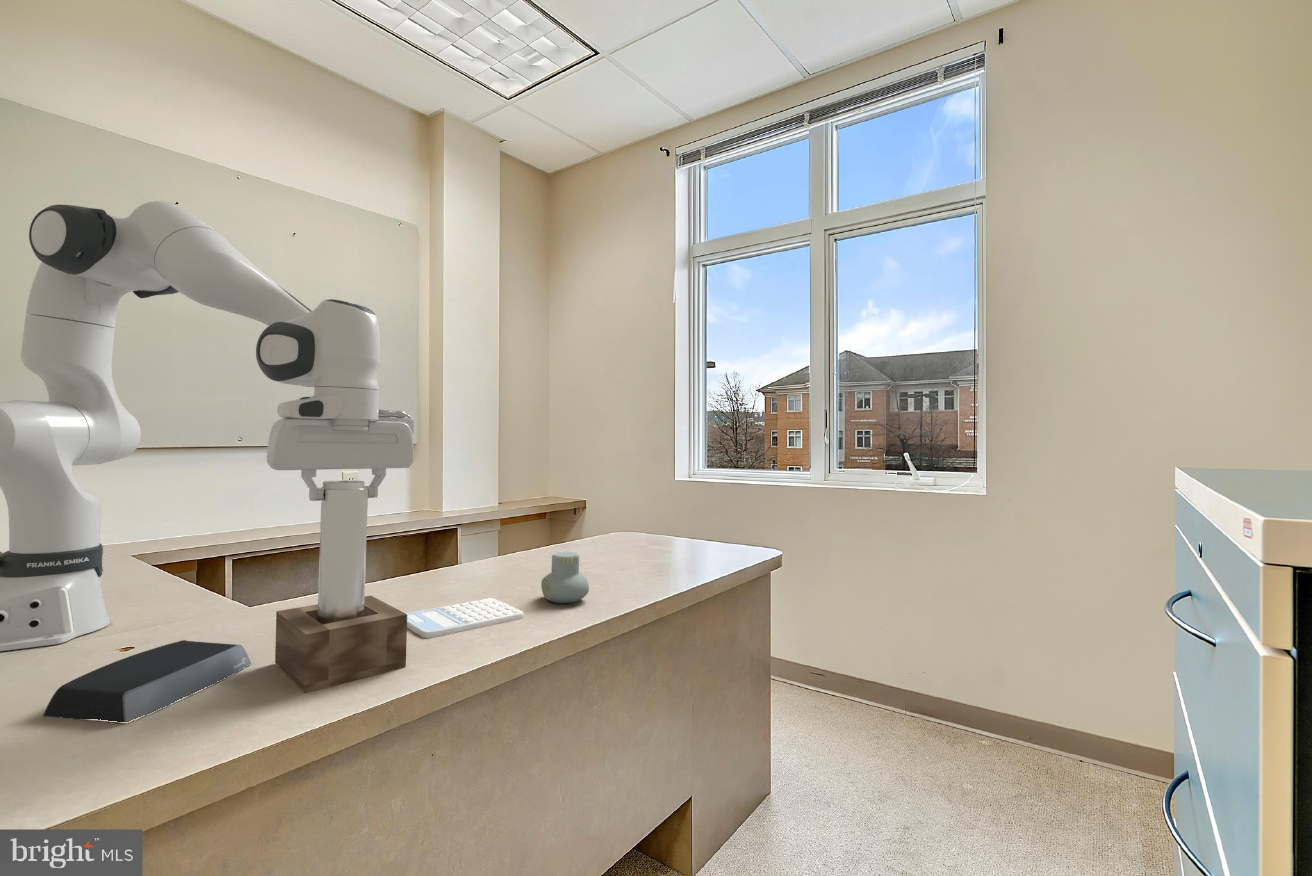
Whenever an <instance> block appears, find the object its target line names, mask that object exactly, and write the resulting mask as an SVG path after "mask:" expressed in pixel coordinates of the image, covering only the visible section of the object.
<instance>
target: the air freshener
mask: <svg viewBox="0 0 1312 876" xmlns="http://www.w3.org/2000/svg"><path fill="white" fill-rule="evenodd" d="M540 587H541V591H542V594H543V596H544V598H545V599H546V600H548V601H549V602H551V601H552V602H551V603H553V602H555V604H570V603H571V604H572V603H576V602H579V601H580V600H582V599H583V598H585V597H586V596H587V595H588V594H589V590H590V589H589V588H590V586H589V582H588V579H587V577H586V576H585V575H584V574H582V573H581V572H580V554H579V553H577V552H573V551H560V552H554V553H553V554H551V572H550V573H548V574H546V575H545V576H543V578H542V579H541V586H540Z"/></svg>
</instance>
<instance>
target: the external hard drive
mask: <svg viewBox="0 0 1312 876" xmlns="http://www.w3.org/2000/svg"><path fill="white" fill-rule="evenodd" d="M249 664H251V665H252V662H251V659H250V657H249V655H248V653H247V651H246V649H245V648H244V647H243V645H241V644H235V643H234V644H233V643H220V642H219V643H217V642H206V641H193V640H186V639H183V640H178V641H175V642H172V643H168V644H165V645H160V646H158V647H155V648H150V649H147V650H145V651H142V652H139V653H136V654H132V655H130V656H126V657H123V658H122V659H118V660H116V661H113V662H111V663H109V664H105V665H103V666H101V667H99V668H97V669H94V670H92V671H89V672H88V673H85V674H83V675H81V676H77V677H76V678H74V679H72V680H71V681H68V682H66V683H64V684H62V685H61V686H60V687H58V688H57V689H56V691H55V692H54V693H53V695H52V697H51V698H50V700H49V701H48V704H47V706H46V707H45V711H44V713H43V716H44V717H50V718H59V717H62V719H69V718H73V719H72V720H78V719H98V720H100V719H101V720H108V721H117V722H129V721H131V720H133V719H136V718H138V717H141V716H143V715H147V714H150V713H152V712H154V711H156V710H158V709H160V708H163V707H165V706H168V705H170V704H171V703H174V702H175V701H177V700H179V699H182V698H183V697H186V696H189V695H191V694H193V693H195V692H197V691H199V690H201V689H204V688H205V687H208V686H210V685H212V684H214V683H216V682H217V681H220V680H223V679H224V678H227V677H228V676H230V675H232V674H234V673H236V672H238V671H239V670H241V669H243V668H244V667H246V666H247V665H249ZM246 668H247V667H246ZM243 670H244V669H243ZM241 671H242V670H241ZM239 672H240V671H239ZM239 672H238V673H239ZM236 674H237V673H236ZM234 675H235V674H234ZM232 676H233V675H232ZM230 677H231V676H230ZM228 678H229V677H228ZM228 678H227V679H228ZM223 681H224V680H223ZM168 707H169V706H168ZM152 714H153V713H152ZM150 715H151V714H150Z"/></svg>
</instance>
